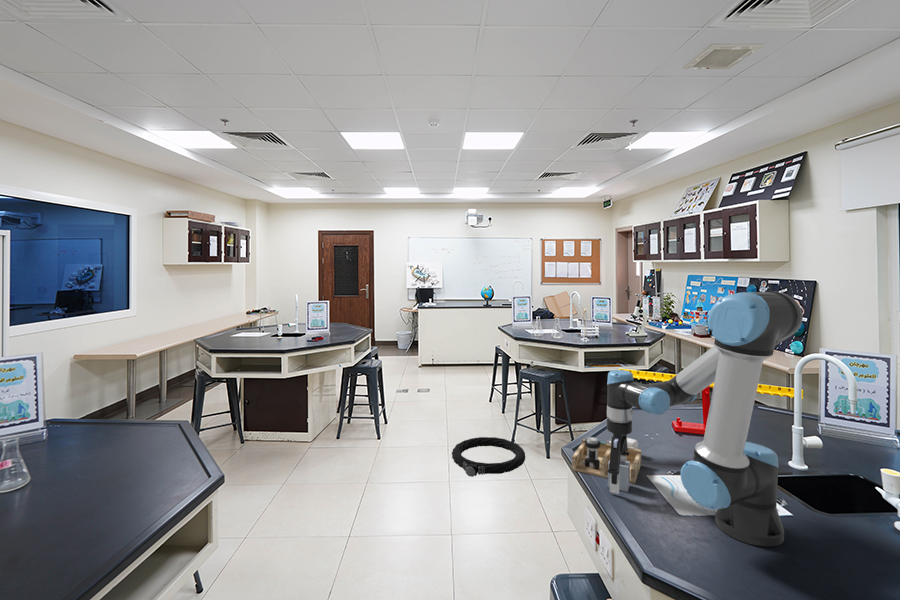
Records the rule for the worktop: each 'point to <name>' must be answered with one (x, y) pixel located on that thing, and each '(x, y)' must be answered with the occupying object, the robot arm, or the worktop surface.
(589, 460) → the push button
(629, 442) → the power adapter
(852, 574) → the worktop surface
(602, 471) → the divided wooden rack
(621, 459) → the block
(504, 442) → the cable lock
